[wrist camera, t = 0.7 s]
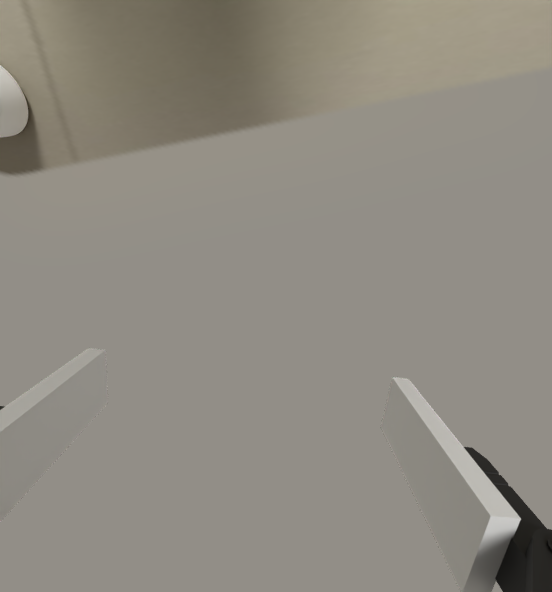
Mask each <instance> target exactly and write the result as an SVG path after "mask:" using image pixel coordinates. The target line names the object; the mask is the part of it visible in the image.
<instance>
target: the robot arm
mask: <svg viewBox="0 0 552 592" xmlns="http://www.w3.org/2000/svg"><path fill="white" fill-rule="evenodd" d="M107 404H108V390H107V370H106V350H101V349H91V348H88V349H87V350H85V351H84V352H83V353H81V354H80V355H78V356H77V357H75V358H74V359H72V360H71V361H70V362H68V363H67V364H66V365H64V366H62V367H61V368H60V369H58V370H57V371H55V372H54V373H53V374H51V375H50V376H48V377H47V378H46V379H44V380H43V381H41V382H40V383H38V384H37V385H36V386H34V387H33V388H31V389H30V390H28V391H27V392H25V393H24V394H23V395H21V396H20V397H18V398H17V399H15V400H14V401H13V402H11V403H10V404H8V405H7V406H5V407H3V406H0V522H1V521H2V520H3V519H4V517H5V516H6V515H7V514H8V513H9V512H10V511H11V510H12V509H13V508H14V507H15V505H16V504H17V503H18V502H19V501H20V500H21V499H22V498H23V496H24V495H25V494H26V493H27V492H28V491H29V490H30V489H31V488H32V487H33V485H34V484H35V483H36V482H37V481H38V480H39V479H40V478H41V477H42V476H43V474H44V473H45V472H46V471H47V470H48V469H49V468H50V467H51V465H52V464H53V463H54V462H55V461H56V460H57V459H58V458H59V457H60V456H61V455H62V453H63V452H64V451H65V450H66V449H67V448H68V447H69V446H70V445H71V443H72V442H73V441H74V440H75V439H76V438H77V437H78V436H79V435H80V433H81V432H82V431H83V430H84V429H85V428H86V427H87V426H88V425H89V423H90V422H91V421H92V420H93V419H94V418H95V417H96V416H97V415H98V414H99V412H100V411H101V410H102V409H103V408H104V407H105V406H106V405H107ZM381 430H382V432H383V434H384V436H385V438H386V440H387V442H388V444H389V446H390V448H391V450H392V452H393V454H394V456H395V458H396V460H397V463H398V465H399V466H400V468H401V471H402V473H403V475H404V477H405V479H406V481H407V483H408V485H409V487H410V489H411V491H412V493H413V495H414V497H415V499H416V502H417V504H418V505H419V507H420V510H421V511H422V513H423V516H424V518H425V520H426V522H427V524H428V526H429V528H430V530H431V532H432V534H433V536H434V538H435V540H436V543H437V545H438V547H439V549H440V551H441V553H442V555H443V557H444V559H445V561H446V563H447V565H448V567H449V569H450V571H451V573H452V575H453V578H454V580H455V581H456V584H457V586H458V587H459V590H460V592H491V591H492V589H493V587H494V584H495V581H497V583H498V584H499V586H500V588H501V589H502V591H503V592H552V530H549V529H547V528H546V527H545V526H544V525H543V524H542V523H541V521H540V520H539V519H538V518H537V517H536V515H535V514H534V513H533V512H532V511H531V510H530V508H528V506H527V505H526V504H525V503H524V502H523V500H522V499H521V498H520V497H519V496H518V495H517V494H516V492H515V491H514V490H513V489H512V488H511V487H509V486H508V483H507V482H506V481H505V479H504V478H503V477H502V476H501V475H499V473H498V471H497V470H496V469H495V468H494V467H493V466H492V464H491V463H490V462H489V461H488V460H487V459H486V458H485V457H483V456H482V455H481V454H479V453H478V452H477V451H475V450H474V449H473V448H469V447H463V446H462V445H461V444H460V442H459V441H458V440H457V439H456V437H455V436H454V435H453V434H452V432H451V431H450V430H449V429H448V427H447V426H446V425H445V424H444V422H443V421H442V420H441V419H440V418H439V416H438V415H437V414H436V412H435V411H434V410H433V409H432V407H430V405H429V404H428V403H427V401H426V400H425V399H424V398H423V396H422V395H421V394H420V393H419V391H418V390H417V389H416V388H415V386H414V385H413V384H412V383H411V382H410V380H409V379H406V378H396V377H392V380H391V384H390V388H389V393H388V398H387V402H386V406H385V410H384V415H383V419H382V424H381Z"/></svg>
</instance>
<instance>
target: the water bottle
mask: <svg viewBox="0 0 552 592" xmlns="http://www.w3.org/2000/svg"><path fill="white" fill-rule="evenodd" d="M27 121H28V106H27V102H26V99H25V96H24V94H23V92H22V90H21V88H20V86H19V85H18V83H17V82H16V80H15V79H14V78H13V77H12V76H11V74H10V73H9V72H8V71H7V70H6V69H4V68H3V67H2V66H1V65H0V137H9V136H14V135H16V134H18V133H20V132H21V131H22V130H23V129H24V128H25V126H26V124H27Z"/></svg>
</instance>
